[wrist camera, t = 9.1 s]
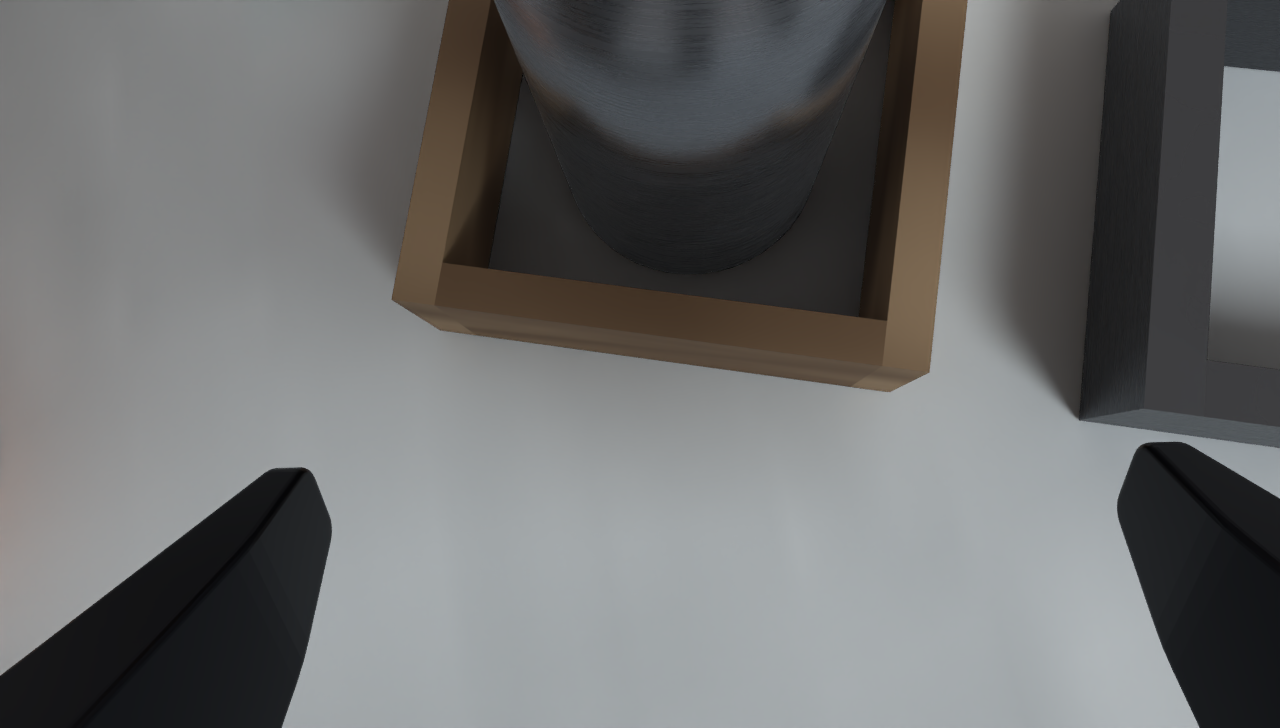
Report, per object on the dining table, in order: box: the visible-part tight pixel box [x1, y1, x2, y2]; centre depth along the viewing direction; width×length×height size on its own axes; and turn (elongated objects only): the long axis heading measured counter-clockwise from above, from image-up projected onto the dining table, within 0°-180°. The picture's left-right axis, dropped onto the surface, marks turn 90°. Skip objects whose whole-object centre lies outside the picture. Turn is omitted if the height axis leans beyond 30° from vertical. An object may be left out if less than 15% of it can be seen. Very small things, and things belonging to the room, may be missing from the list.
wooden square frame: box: [392, 0, 967, 392], centre depth 17 cm, size 10×10×3 cm
